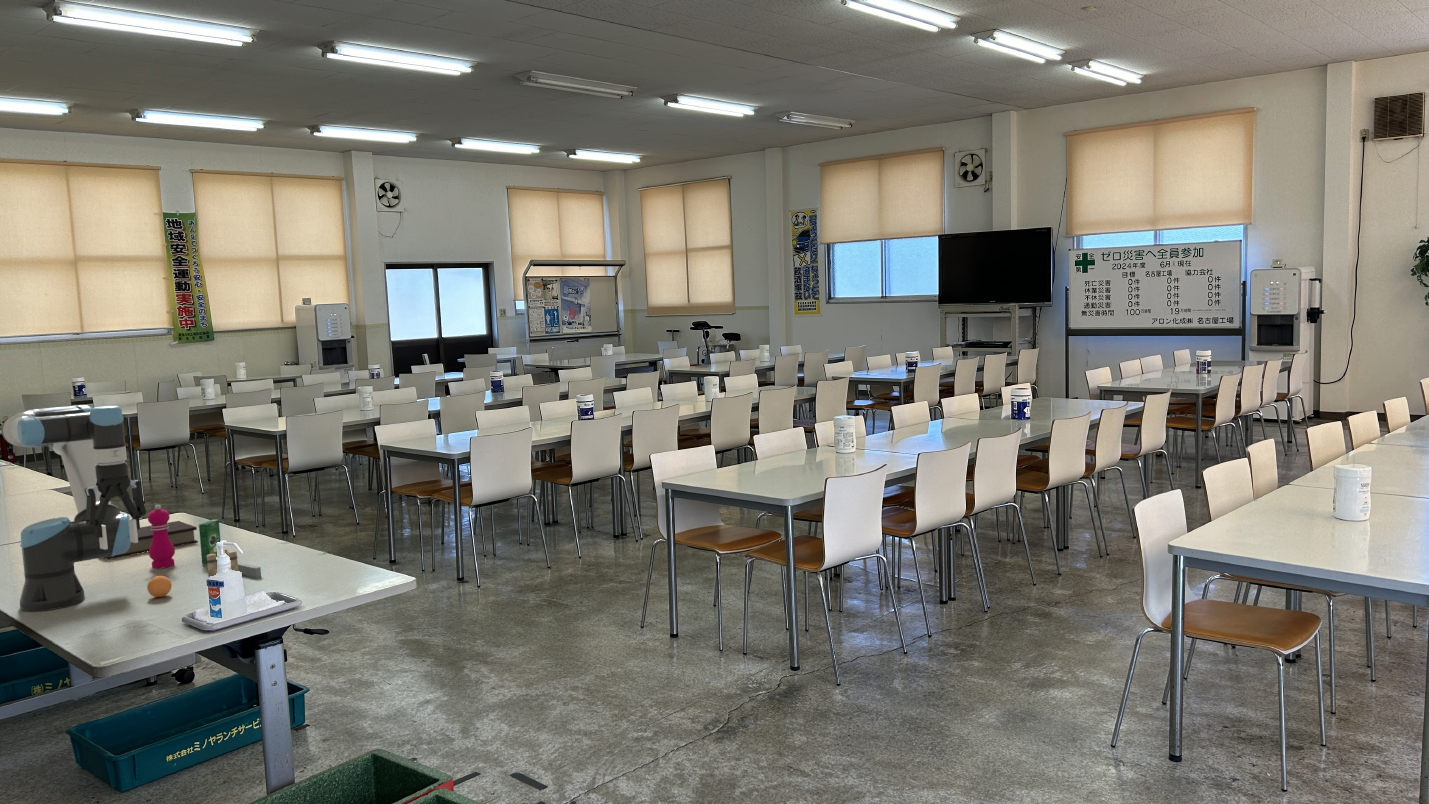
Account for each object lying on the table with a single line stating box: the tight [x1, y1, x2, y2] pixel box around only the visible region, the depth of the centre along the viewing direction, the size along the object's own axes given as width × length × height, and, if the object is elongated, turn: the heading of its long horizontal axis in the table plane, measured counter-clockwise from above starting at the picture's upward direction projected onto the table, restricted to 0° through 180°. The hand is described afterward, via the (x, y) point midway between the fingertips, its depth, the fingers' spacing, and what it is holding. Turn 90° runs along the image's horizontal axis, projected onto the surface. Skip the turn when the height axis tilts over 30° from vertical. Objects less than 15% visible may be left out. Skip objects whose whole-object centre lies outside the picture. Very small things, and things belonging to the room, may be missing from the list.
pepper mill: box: [147, 504, 176, 570], centre depth 314 cm, size 7×7×20 cm
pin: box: [228, 550, 239, 571], centre depth 296 cm, size 2×2×8 cm
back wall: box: [237, 561, 262, 579], centre depth 301 cm, size 2×14×3 cm, turn 56°
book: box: [105, 520, 199, 560], centre depth 344 cm, size 28×20×6 cm
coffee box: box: [198, 519, 221, 565], centre depth 319 cm, size 8×3×13 cm, turn 179°
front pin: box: [206, 554, 218, 578], centre depth 293 cm, size 2×2×8 cm
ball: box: [146, 575, 172, 598], centre depth 280 cm, size 6×6×6 cm
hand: (119, 545), depth 271 cm, fingers open, 7 cm apart
